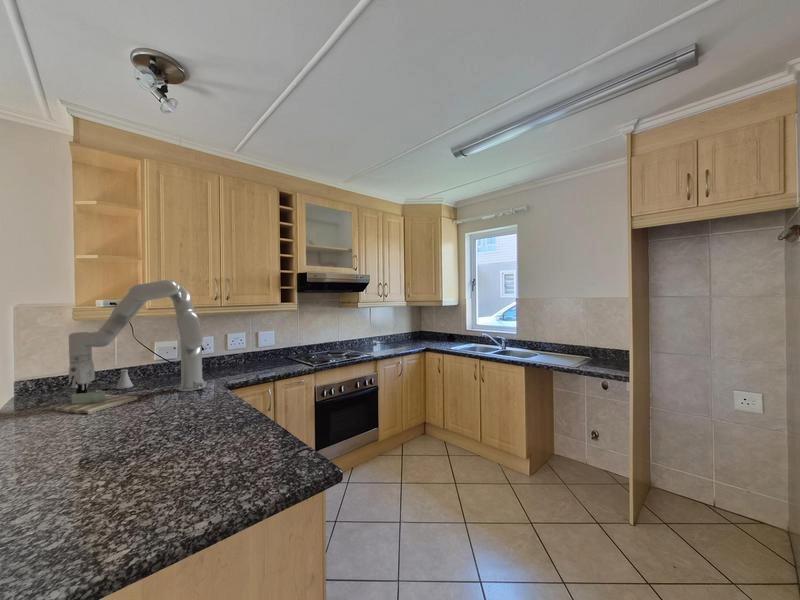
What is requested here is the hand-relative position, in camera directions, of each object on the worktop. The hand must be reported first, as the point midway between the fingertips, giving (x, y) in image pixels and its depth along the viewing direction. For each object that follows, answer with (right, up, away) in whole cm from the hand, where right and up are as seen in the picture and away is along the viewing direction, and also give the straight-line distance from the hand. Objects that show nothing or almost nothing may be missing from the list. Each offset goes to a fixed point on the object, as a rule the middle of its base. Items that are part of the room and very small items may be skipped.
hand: (82, 398), depth 150 cm
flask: (-6, -4, +30) cm, 31 cm away
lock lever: (+4, -1, -2) cm, 5 cm away
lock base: (+8, -3, -1) cm, 9 cm away
